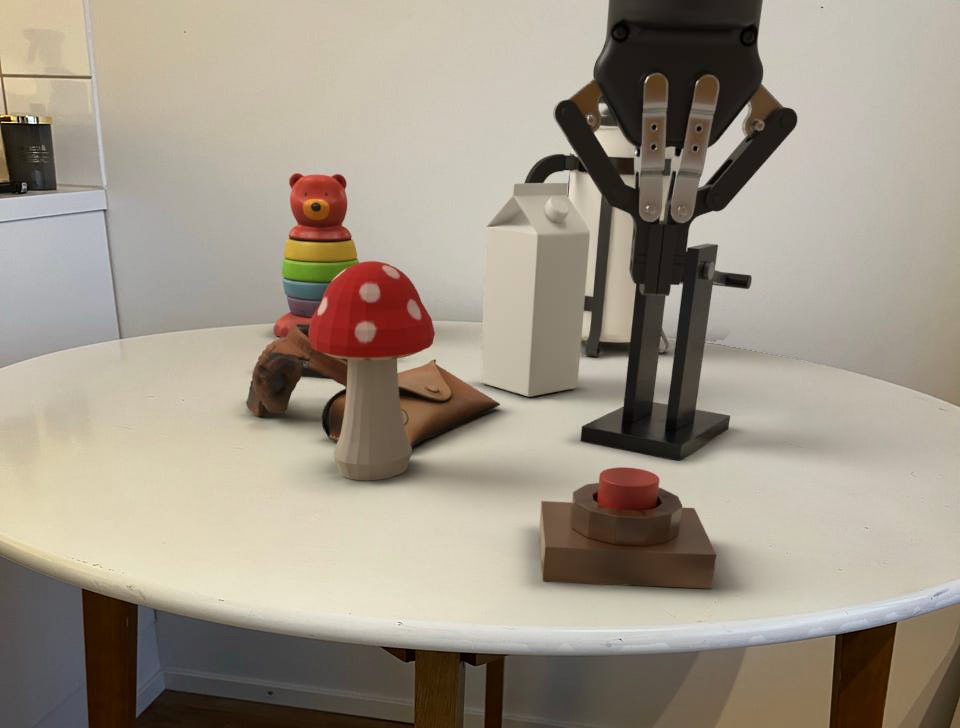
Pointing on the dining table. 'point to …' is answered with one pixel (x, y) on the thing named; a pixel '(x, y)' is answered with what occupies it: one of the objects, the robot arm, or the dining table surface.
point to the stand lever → (729, 279)
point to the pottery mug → (288, 371)
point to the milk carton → (534, 292)
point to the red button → (628, 489)
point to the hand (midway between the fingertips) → (654, 293)
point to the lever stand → (678, 421)
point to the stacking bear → (314, 245)
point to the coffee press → (604, 235)
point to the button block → (624, 543)
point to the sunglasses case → (422, 403)
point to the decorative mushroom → (371, 362)
